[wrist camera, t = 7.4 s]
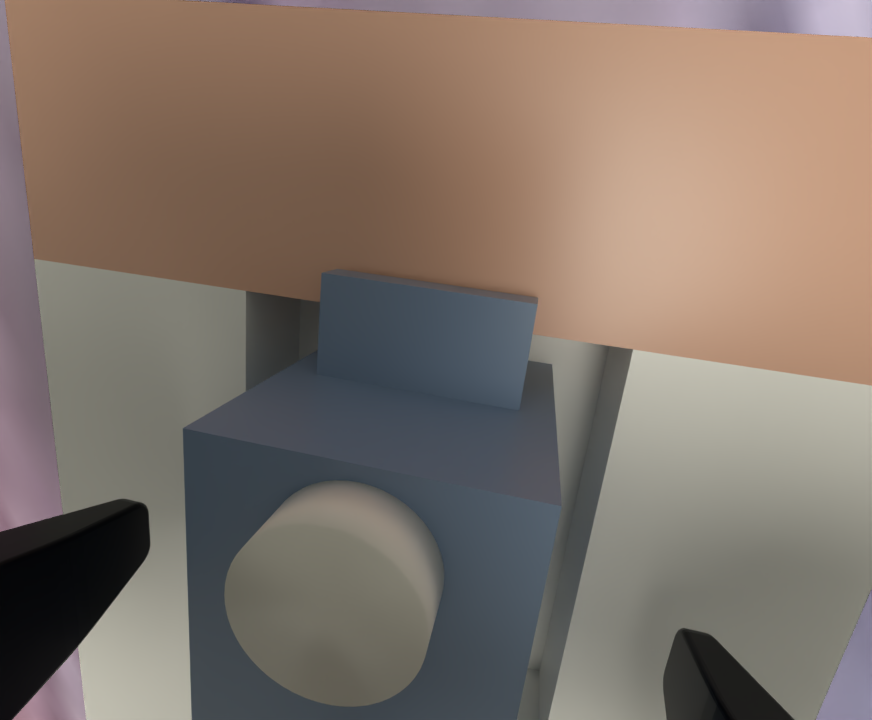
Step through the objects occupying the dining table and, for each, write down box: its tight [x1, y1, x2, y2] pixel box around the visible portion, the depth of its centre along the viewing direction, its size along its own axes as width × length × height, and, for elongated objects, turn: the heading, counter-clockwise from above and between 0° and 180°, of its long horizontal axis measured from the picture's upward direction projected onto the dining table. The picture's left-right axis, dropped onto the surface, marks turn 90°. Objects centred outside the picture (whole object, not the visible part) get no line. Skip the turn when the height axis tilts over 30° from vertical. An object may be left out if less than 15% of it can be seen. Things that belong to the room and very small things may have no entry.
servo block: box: [183, 269, 562, 720], centre depth 8 cm, size 9×4×6 cm, turn 173°
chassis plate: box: [5, 0, 872, 720], centre depth 10 cm, size 16×14×3 cm
